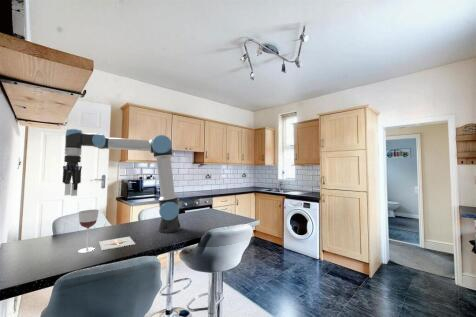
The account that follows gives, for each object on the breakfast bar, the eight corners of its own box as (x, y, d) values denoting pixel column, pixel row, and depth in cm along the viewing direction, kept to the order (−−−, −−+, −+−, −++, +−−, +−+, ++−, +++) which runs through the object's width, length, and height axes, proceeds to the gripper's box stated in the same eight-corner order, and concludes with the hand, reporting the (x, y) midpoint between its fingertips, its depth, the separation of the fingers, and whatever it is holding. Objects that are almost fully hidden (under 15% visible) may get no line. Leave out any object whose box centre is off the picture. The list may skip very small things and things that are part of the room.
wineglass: (72, 251, 108) (74, 212, 109) (89, 246, 116) (91, 209, 117) (84, 253, 105) (86, 213, 106) (100, 247, 113) (102, 210, 115)
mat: (129, 237, 132) (129, 236, 132) (135, 244, 119) (135, 243, 119) (98, 242, 122) (98, 241, 122) (101, 250, 109) (101, 249, 109)
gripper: (56, 155, 124) (53, 195, 123) (75, 154, 117) (73, 197, 116) (70, 156, 131) (68, 193, 130) (89, 155, 124) (87, 195, 123)
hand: (70, 195), depth 123 cm, fingers open, 5 cm apart
